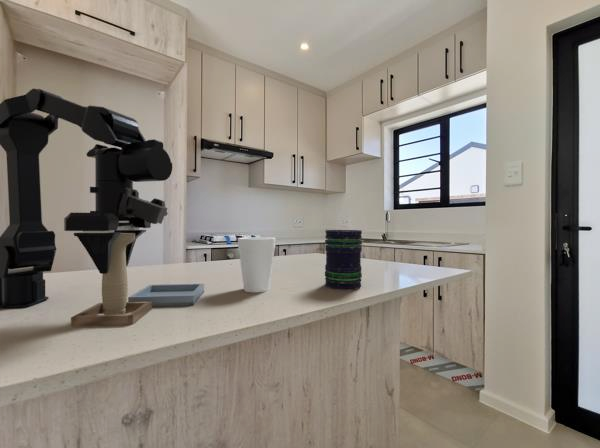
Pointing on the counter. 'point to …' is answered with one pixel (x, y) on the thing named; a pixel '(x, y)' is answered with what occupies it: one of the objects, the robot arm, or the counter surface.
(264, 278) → the foam cup
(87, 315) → the brown square frame
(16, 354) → the counter surface
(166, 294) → the tray
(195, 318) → the counter surface
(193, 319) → the counter surface
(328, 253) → the storage jar
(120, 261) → the handle
